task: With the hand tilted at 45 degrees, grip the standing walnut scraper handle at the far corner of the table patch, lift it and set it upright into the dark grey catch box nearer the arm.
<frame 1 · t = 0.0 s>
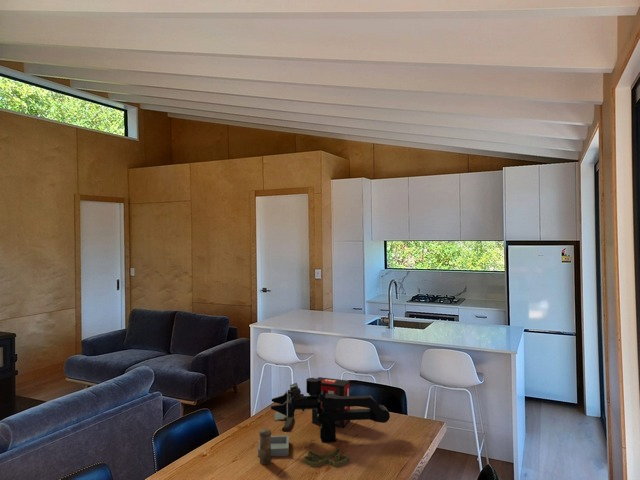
hand: (271, 403, 197), 17 cm above the table, tool horizontal, fingers open, 9 cm apart
cleaver: (284, 420, 222), on the table
cookie cutter: (326, 461, 180), on the table
catch box: (273, 449, 189), on the table
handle: (265, 462, 178), on the table
cleaning product box: (331, 422, 218), on the table
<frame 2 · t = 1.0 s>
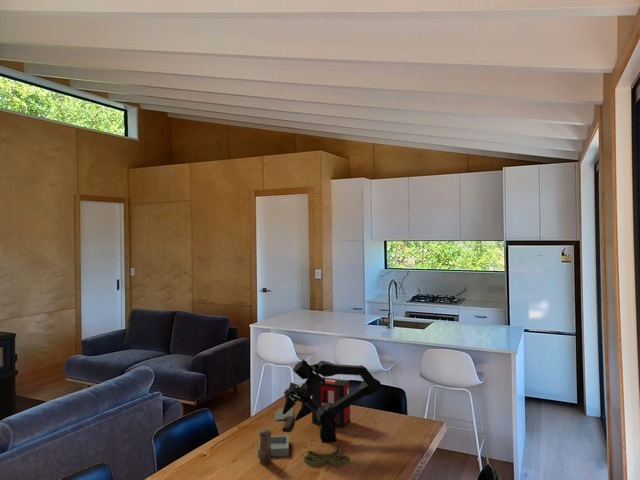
hand: (289, 417, 189), 14 cm above the table, tool tilted 45°, fingers open, 9 cm apart
nothing on the table moved.
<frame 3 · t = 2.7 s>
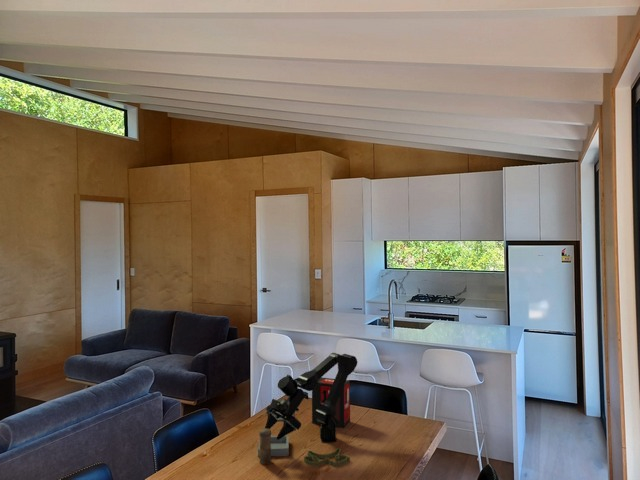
hand: (270, 435, 180), 10 cm above the table, tool tilted 45°, fingers open, 9 cm apart
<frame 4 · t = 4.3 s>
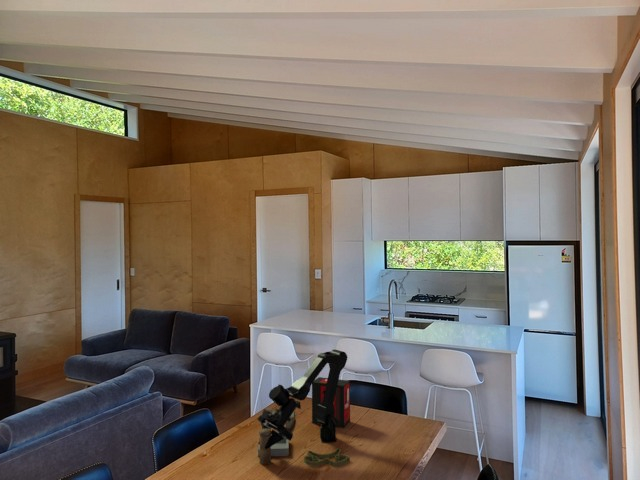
hand: (262, 446, 177), 7 cm above the table, tool tilted 45°, fingers closed on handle, 4 cm apart
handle: (265, 462, 178), on the table, touching gripper
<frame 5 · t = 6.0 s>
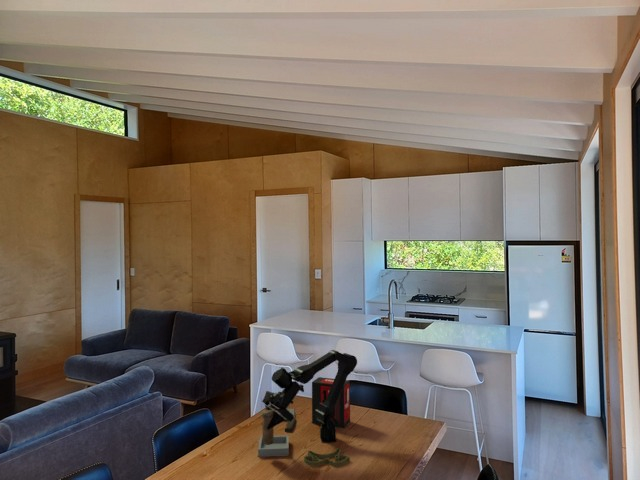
hand: (264, 427, 182), 12 cm above the table, tool tilted 45°, fingers closed on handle, 4 cm apart
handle: (268, 442, 182), point 6 cm above the table, touching gripper
when the fingers open (9 cm above the table, at t = 7.8 s): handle drops 2 cm, resting on catch box.
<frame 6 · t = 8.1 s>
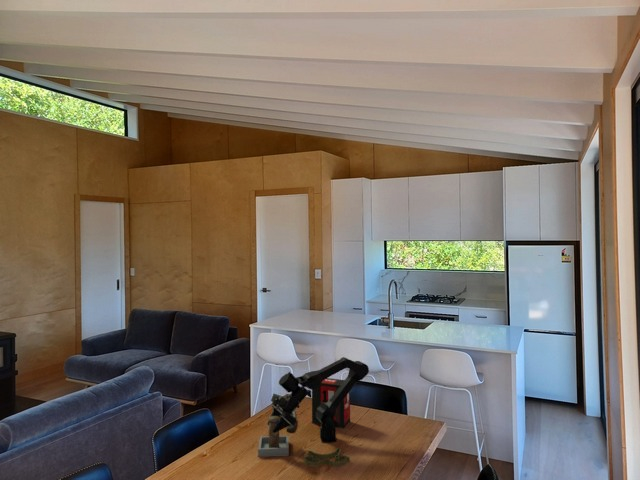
hand: (270, 428, 189), 9 cm above the table, tool tilted 45°, fingers open, 8 cm apart
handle: (274, 447, 189), point 1 cm above the table, touching catch box
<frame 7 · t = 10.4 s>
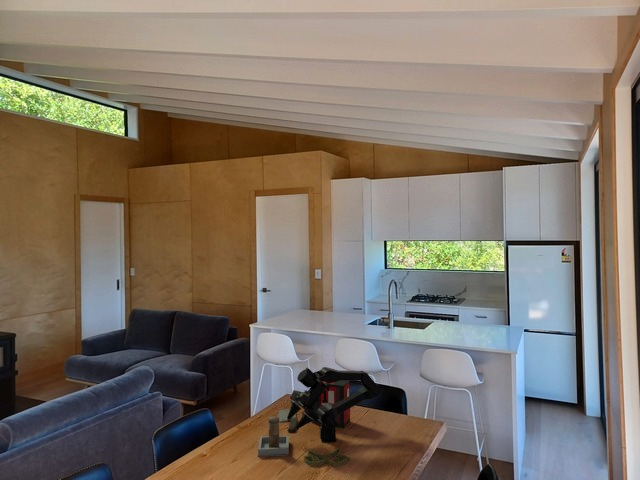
hand: (292, 423, 192), 10 cm above the table, tool tilted 40°, fingers open, 9 cm apart
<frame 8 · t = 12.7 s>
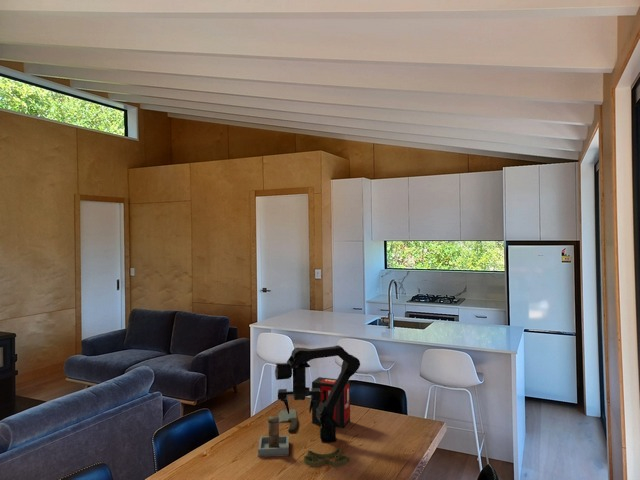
hand: (299, 413, 195), 13 cm above the table, tool pointing down, fingers open, 9 cm apart
at the end: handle inside the target area on the catch box (0.1 cm from its centre), point 0.8 cm above the catch box's base; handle tilted 1°; the gripper is holding nothing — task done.
